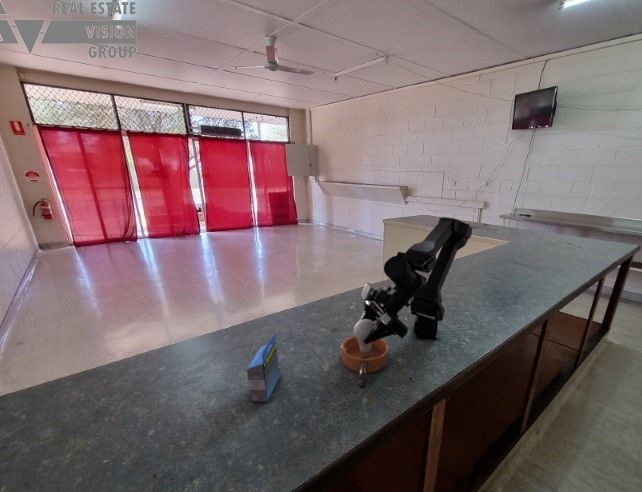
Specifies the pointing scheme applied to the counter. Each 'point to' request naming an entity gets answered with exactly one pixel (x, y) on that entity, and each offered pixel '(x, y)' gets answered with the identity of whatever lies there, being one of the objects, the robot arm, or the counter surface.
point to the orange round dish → (374, 361)
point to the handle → (363, 375)
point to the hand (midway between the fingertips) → (360, 336)
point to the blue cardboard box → (263, 372)
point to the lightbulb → (364, 335)
